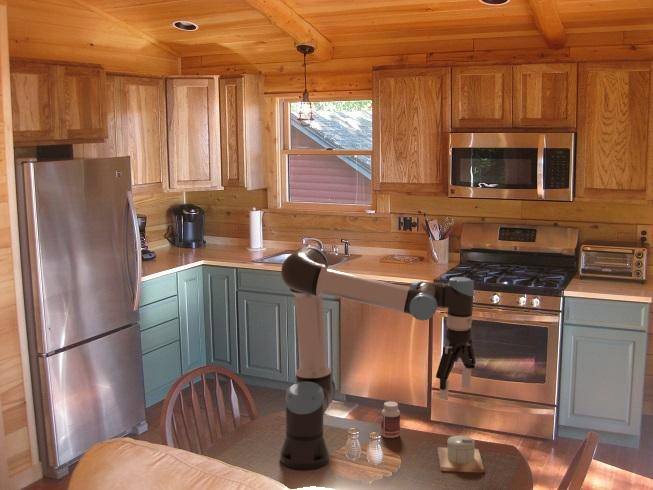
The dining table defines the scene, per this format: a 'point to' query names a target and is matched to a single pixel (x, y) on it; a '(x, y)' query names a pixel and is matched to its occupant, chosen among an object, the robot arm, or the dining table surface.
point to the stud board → (451, 466)
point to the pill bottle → (390, 420)
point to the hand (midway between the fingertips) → (454, 393)
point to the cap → (460, 449)
